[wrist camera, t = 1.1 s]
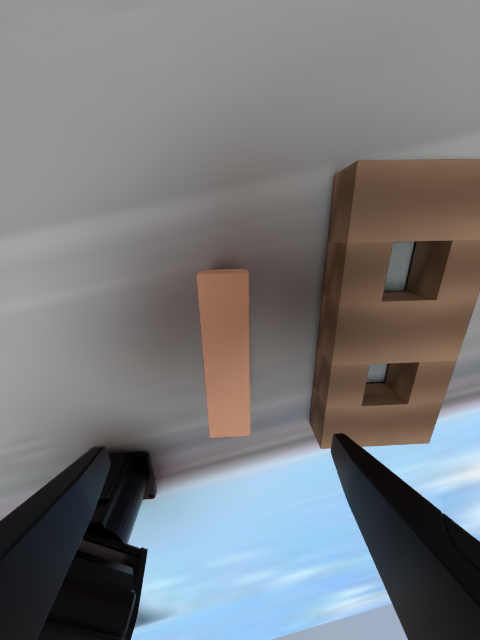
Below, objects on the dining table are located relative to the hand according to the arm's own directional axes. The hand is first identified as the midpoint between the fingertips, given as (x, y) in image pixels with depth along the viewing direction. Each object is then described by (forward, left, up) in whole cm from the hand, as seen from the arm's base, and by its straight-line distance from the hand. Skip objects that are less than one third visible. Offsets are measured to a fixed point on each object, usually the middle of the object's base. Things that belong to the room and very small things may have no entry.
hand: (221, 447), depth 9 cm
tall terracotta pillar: (0, 0, -11) cm, 11 cm away
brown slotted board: (+1, -13, -11) cm, 17 cm away
